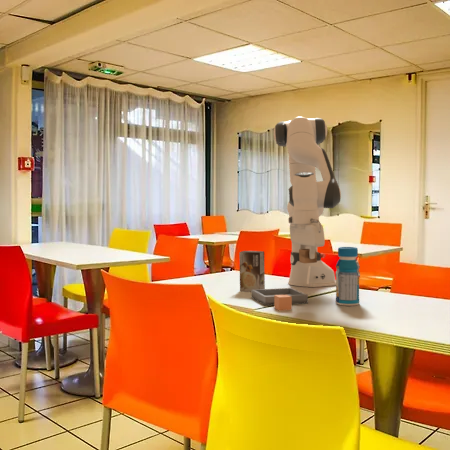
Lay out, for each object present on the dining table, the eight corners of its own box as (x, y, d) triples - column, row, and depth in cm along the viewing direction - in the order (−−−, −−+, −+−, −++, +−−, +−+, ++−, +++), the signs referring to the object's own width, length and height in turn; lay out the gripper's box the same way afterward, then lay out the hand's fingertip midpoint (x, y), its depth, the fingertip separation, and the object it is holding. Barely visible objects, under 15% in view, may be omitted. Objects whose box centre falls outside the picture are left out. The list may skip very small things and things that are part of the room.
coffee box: (265, 290, 221) (265, 251, 220) (260, 292, 215) (260, 252, 214) (244, 288, 224) (244, 250, 224) (239, 291, 218) (238, 251, 218)
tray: (291, 295, 208) (291, 287, 208) (307, 303, 192) (307, 294, 192) (251, 297, 204) (251, 289, 204) (265, 305, 188) (265, 297, 188)
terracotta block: (286, 307, 185) (286, 294, 185) (291, 310, 181) (291, 296, 181) (274, 308, 184) (274, 295, 184) (279, 310, 180) (279, 297, 180)
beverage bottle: (346, 307, 185) (346, 249, 184) (330, 303, 193) (330, 247, 192) (364, 304, 189) (365, 247, 188) (348, 300, 197) (349, 246, 196)
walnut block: (311, 261, 192) (310, 248, 192) (316, 262, 188) (316, 249, 188) (299, 262, 191) (298, 249, 191) (305, 263, 187) (304, 250, 186)
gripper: (328, 218, 180) (330, 260, 180) (301, 217, 199) (303, 254, 200) (311, 219, 178) (313, 261, 179) (286, 218, 197) (287, 255, 198)
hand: (307, 257), depth 189 cm, fingers closed on walnut block, 4 cm apart
